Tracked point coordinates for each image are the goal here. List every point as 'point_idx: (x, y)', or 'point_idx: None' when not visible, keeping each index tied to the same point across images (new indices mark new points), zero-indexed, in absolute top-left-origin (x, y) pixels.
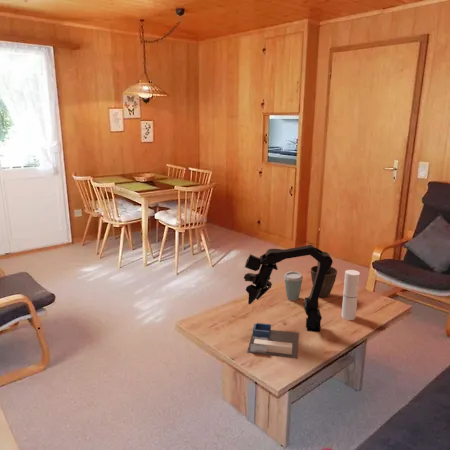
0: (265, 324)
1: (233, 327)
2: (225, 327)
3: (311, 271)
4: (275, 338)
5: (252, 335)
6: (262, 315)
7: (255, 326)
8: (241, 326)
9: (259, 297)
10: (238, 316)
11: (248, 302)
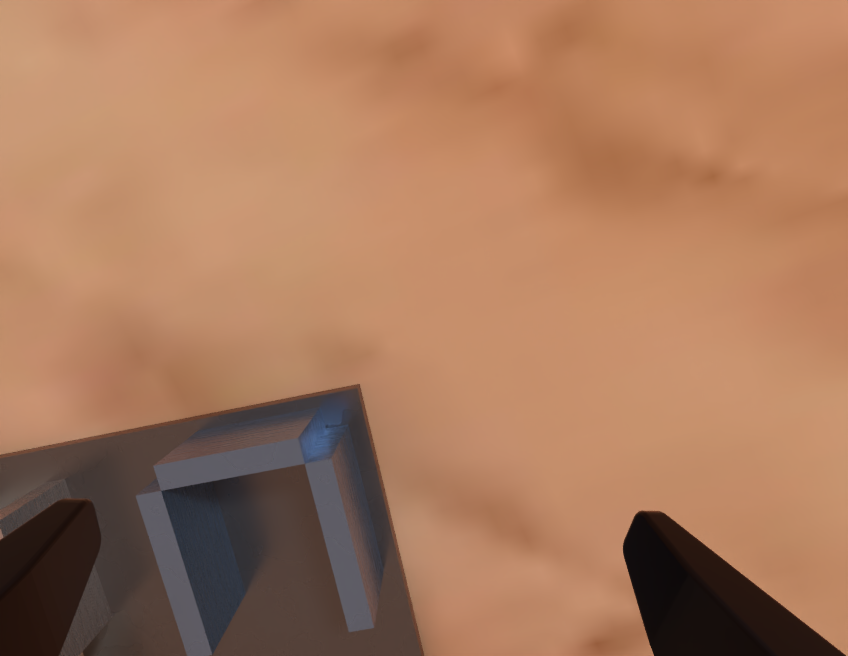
0: (337, 571)
1: (293, 149)
2: (249, 52)
3: None
4: (256, 649)
5: (202, 426)
6: (717, 374)
7: (230, 475)
8: (357, 231)
9: (659, 648)
10: (585, 96)
11: (20, 530)
